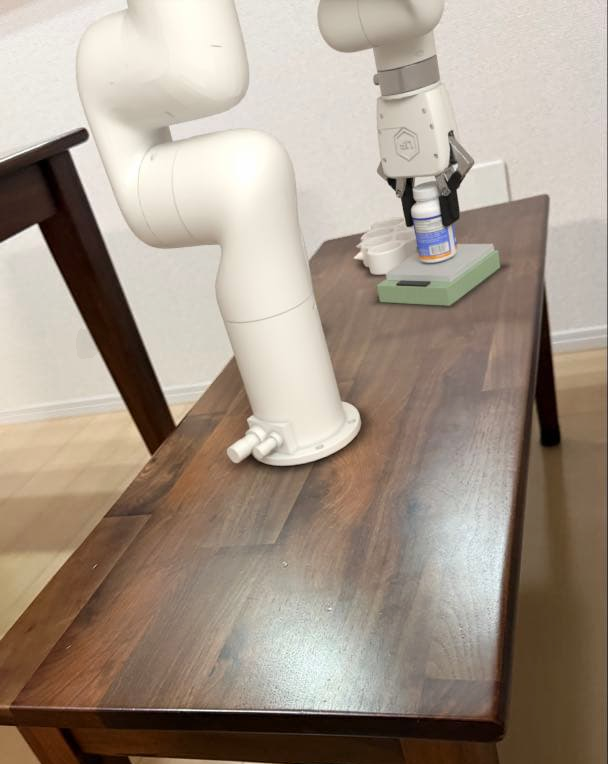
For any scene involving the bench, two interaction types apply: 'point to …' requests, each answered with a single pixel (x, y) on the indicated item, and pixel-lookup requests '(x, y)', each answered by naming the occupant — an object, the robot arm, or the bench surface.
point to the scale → (439, 276)
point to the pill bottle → (431, 225)
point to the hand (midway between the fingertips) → (432, 221)
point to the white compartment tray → (387, 245)
